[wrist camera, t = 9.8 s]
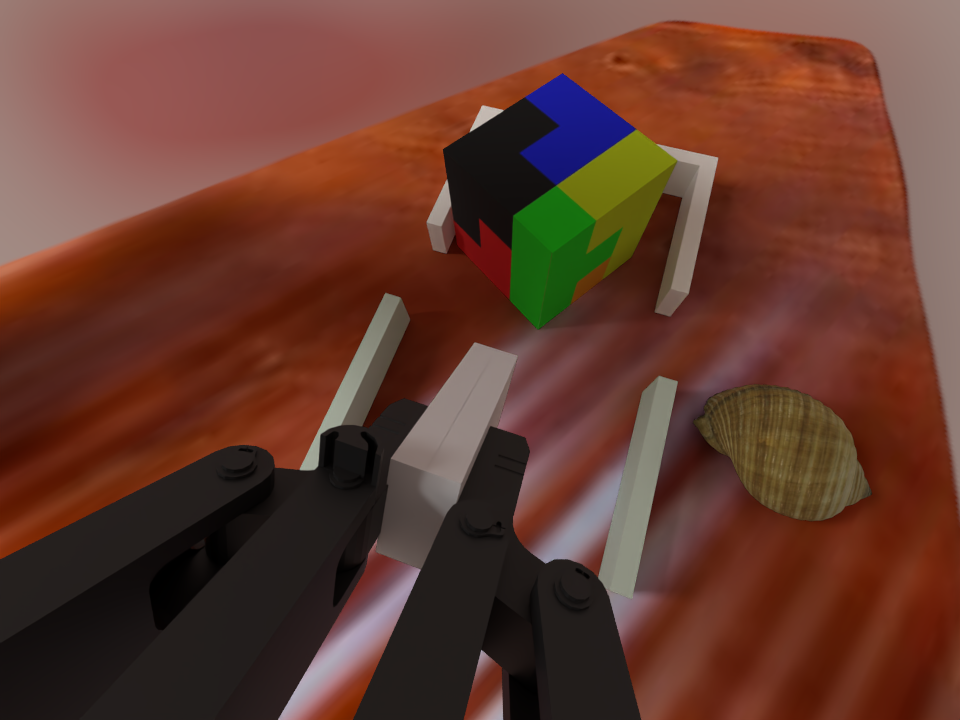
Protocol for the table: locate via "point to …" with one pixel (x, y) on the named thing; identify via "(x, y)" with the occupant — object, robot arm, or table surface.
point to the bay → (685, 181)
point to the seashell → (786, 450)
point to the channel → (637, 472)
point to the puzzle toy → (553, 196)
